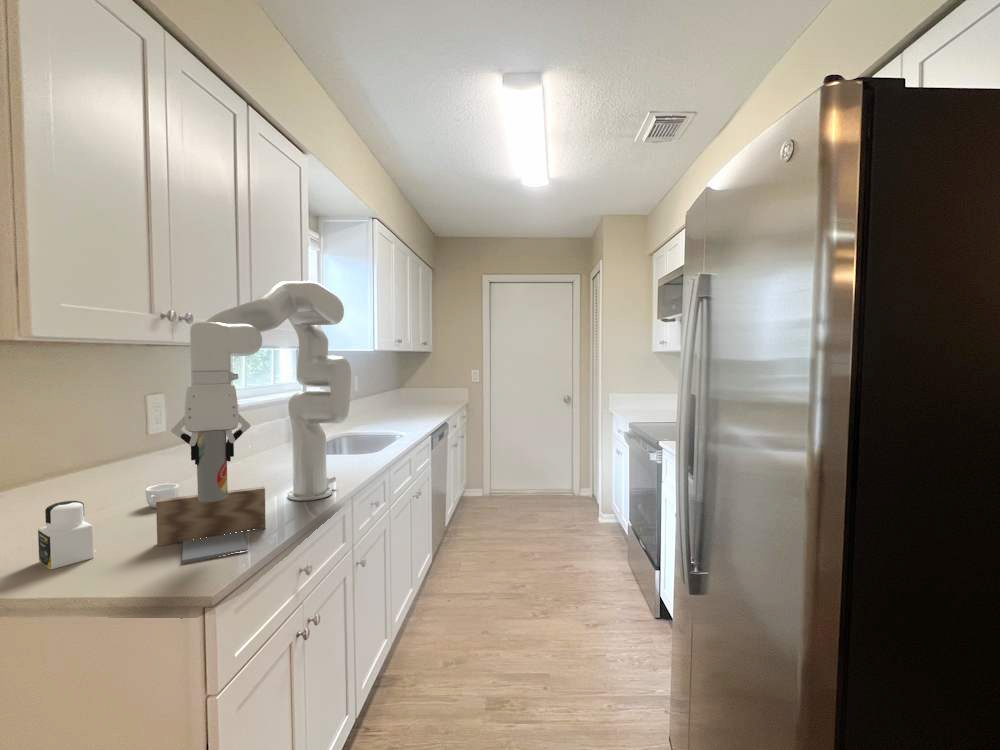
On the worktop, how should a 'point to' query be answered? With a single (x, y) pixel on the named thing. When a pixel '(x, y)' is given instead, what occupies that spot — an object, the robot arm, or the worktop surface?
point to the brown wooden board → (209, 516)
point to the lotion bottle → (212, 466)
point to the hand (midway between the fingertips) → (212, 461)
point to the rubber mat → (213, 547)
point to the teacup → (161, 493)
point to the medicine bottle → (65, 535)
